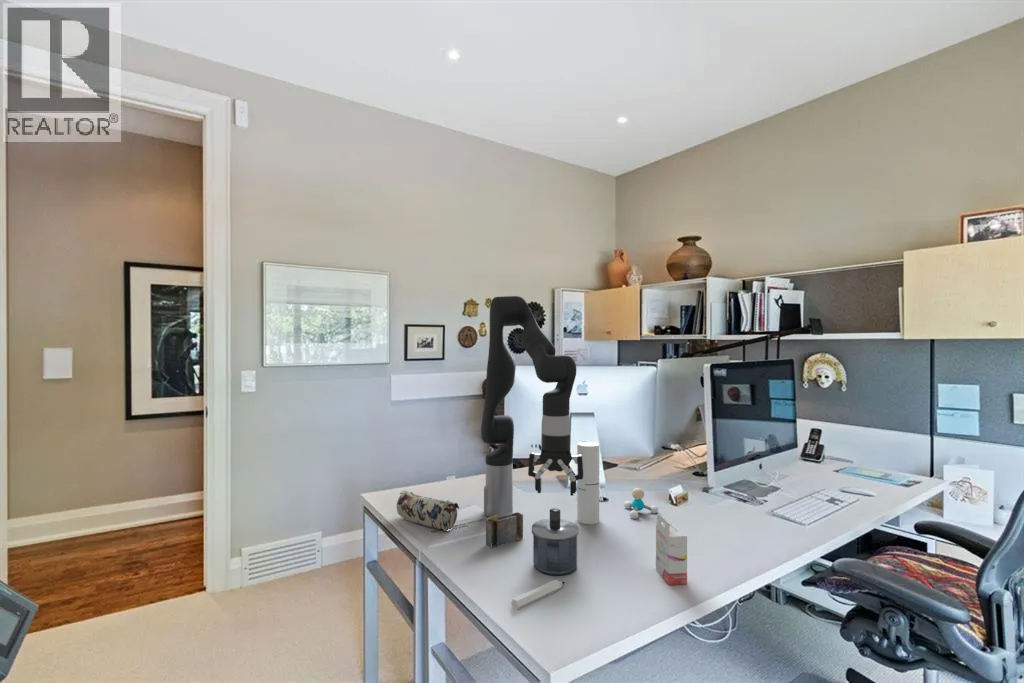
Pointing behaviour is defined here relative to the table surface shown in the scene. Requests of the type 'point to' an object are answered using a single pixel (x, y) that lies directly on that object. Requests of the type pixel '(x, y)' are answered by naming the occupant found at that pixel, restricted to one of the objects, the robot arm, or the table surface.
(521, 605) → the marker
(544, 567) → the pot
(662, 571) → the ink cartridge box
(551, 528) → the lid
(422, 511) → the pencil case
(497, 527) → the weathered rectangular holder
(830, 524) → the table surface
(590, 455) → the cylindrical container
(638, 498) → the molecule model
